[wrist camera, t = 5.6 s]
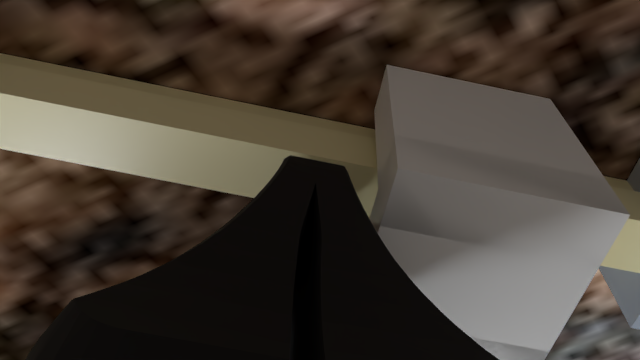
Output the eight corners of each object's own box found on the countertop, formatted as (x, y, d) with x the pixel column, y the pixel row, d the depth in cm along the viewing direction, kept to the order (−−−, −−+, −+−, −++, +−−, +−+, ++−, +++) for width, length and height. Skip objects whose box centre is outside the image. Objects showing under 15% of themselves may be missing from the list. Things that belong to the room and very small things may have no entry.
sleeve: (484, 247, 16) (526, 390, 12) (344, 220, 16) (339, 356, 12) (550, 98, 14) (630, 215, 10) (386, 64, 14) (398, 168, 10)
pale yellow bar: (644, 224, 16) (684, 282, 14) (-227, 51, 15) (-318, 86, 13) (671, 182, 15) (717, 236, 13) (-245, -5, 14) (-345, 24, 12)
